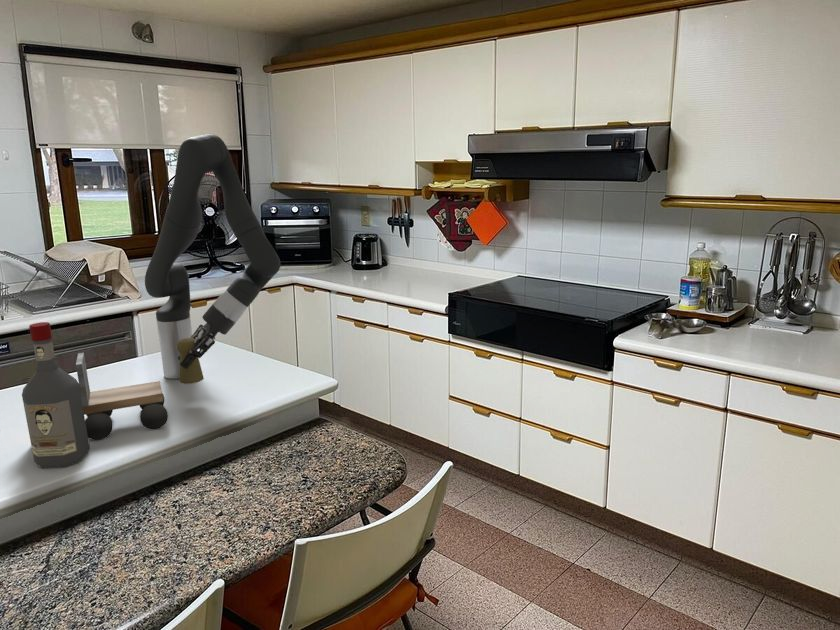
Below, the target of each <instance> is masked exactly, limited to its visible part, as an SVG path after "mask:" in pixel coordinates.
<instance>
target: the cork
mask: <svg viewBox="0 0 840 630" xmlns="http://www.w3.org/2000/svg"><path fill="white" fill-rule="evenodd" d="M195 340H196V339H194V338H185V339H181V340H179V341H178V343H177V350H178V351H179V352H180V362H181V361H182V360H183V359H184V357H185V356H186V355H187V354H188V353H189V351H190V350H191V349H192V347H193V346H194V345H193V342H194V341H195ZM204 379H205V377H204V374H203V370H202V366H201V363H200V358H196V359H195V360H194V361H193V362H192V364H191V365H190V366H189V367H188V368H187V369H185V368H183V367H182V366H181V365H180V373H179V378H178V381H179V383H180V384H184V385H190V384H197V383H199V382H202V381H203V380H204Z"/></svg>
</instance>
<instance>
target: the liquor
mask: <svg viewBox="0 0 840 630" xmlns="http://www.w3.org/2000/svg"><path fill="white" fill-rule="evenodd" d="M28 327H29V333H30V338H31V341H32V345H33V349H34V350H33V351H34V357H35V363H36V365H35V372H34V373H33V375H32V376H31V378H30V379H29V380H28V382H27V383H26V385H25V386H24V387H23V389H22V392H21V398H22V403H23V409H24V414H25V419H26V423H27V424H26V425H27V429H28V435H29V440H30V446H31V451H32V456H33V462H34V463H35V464H36V465H37V466H39V468H41V469H56V468H57V469H58V468H59V469H60V468H67V467H70V466H73V465H76V464H78V463H80V462H81V460H83V459H84V458H85V456H87V454H89V452H90V448H91V447H90V444H89V442H90V441H89V438H88V435H87V429H86V423H85V419H86V418H85V415H84V411H83V405H82V399H81V393H80V387H79V381H78V380H77V378H75V377H74V376H72V375H71V374H69V373H68V372H66V371H65V370H63V369H62V368H61V367H59V364H58V362H57V360H56V356H55V349H54V344H53V334H52V328H51V323H50V322H48V321H47V322H44V321H42V322H36V323H35V322H34V323H31V324H30V325H29V326H28Z"/></svg>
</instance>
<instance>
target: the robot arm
mask: <svg viewBox="0 0 840 630" xmlns="http://www.w3.org/2000/svg"><path fill="white" fill-rule="evenodd" d="M178 149H179V150H178V153H177V157H176V158H177V159H176V164H175V173H174V178H173V184H172V189H171V192H170V196H169V201H168V204H167V207H166V210H165V213H164V216H163V220H162V221H163V222H162V225H161V231H160V233H159V235H158V239H157V243H156V246H155V250H154V251H153V254H152V257H151V259H150V261H149V264H148V266H147V269H146V271H145V275H144V286H145V291H146V293H148V295H149V296H150V297H152V298H155V299H158V298H166V297H167V298H168V300H167V301H166V303H165V304H163V305H162V306H161V307H159V308H158V309H157V310H156V311H155V316H156V318H155V319H156V325H157V332H158V334H157V335H158V341H159V347H160V355H161V364H162V370H163V377H164V378H166V379H171V380H173V379H175V380H176V379H178V380H179V373H180V365H181V366H182V367H183V368H185V369H187V368H188V367H189V366H190V365H191V364H192V362H193V361H194V360H195V359H196V358H199V359H201V358H202V357H203V355H205V353H207V352H208V351H209V350H210V349H211V348H212V347H213V346H214V345H215V342H216V341H215V340H216V336H217V334H218V333H220V334H222V335H227V334H228V333H229V332H230V330H231V329H232V328H233V327H234V326H235V325H236V323H237V322H238V321H239V320H240V318H241V317H242V316H243V315H244V314H245V311H247V309H248V308H249V307H250V305H251V304H252V303H253V302H254V300H255V299H256V298H257V297H258V296H259V293H260V292H261V290H262V289H263V288H264V287H265V286H266V285H267V284H268V283H269V282H270V281H271V280H272V279H273V277H275V275H277V274H278V272H279V271H280V268H281V259H280V257H279V256H278V254H277V251H276V250H275V248H274V247H273V245H272V244H271V243H270V241H269V239H268V238H267V236H266V234H265V231H264V229H263V227H262V225H261V223H260V221H259V219H258V218H257V216H256V215H255V212H254V210H253V209H252V207H251V205H250V203H249V201H248V198H247V196H246V194H245V192H244V189H243V187H242V183H241V181H240V178H239V175H238V172H237V169H236V167H235V165H234V162H233V158H232V156H231V154H230V151H229V149H228V147H227V144H226V143H225V142H224V140H223V139H222V138H221V137H220V136H218V135H216V134H213V133H212V134H211V133H206V134H201V135H196V136H192V137H188V138H186V139H185V140H184V141H183V142H181V144H180V146H179V148H178ZM209 173H213V175H214V176H215V178H216V179H217V181H218V182H219V185H220V187H221V190H222V191H221V192H222V196H223V206H224V214H225V217H226V218H225V219H226V221H227V223H228V225H229V227H230V229H231V230H232V232H233V234H234V236H235V238H236V240H237V242H238V243H239V244H240V246H241V248H243V251H244V253H245V255H246V256H247V258H248V261H249V262H250V263H249V264H248V265H247V266H246V268H245V269H244V271H243V272H242V273H241V274H240V275H239V276H237V277H236V279H234V280H233V281H232V282H231V284H229V286H228V287H227V288H226V290H225V291H224V292H222V293H221V294H220V295H219V296H218V297H217V298H216V300H215V301H214V302H213V303H212V304H211V305H210V306H209V308H208V309H207V310H206V311H205V312H204V314H203V315H202V320H203V321H204V322H205V324H204V325H203V324H200V325H198V327H197V328H196V330H195V331H194V332H193V331H192V322H191V321H192V320H191V313H190V312H191V304H192V303H191V292H190V291H191V289H190V287H191V285H190V279H189V274H188V270H187V269H186V267H185V266H184V265H183V264H182V263H179V262H175V261H177V259H178V258H179V257H180V256H181V255H182V254H183V253H184V252H185V251H186V250H187V249H188V248H189V247H190V246H191V245H192V244H193V242H194V241H195V240H196V238H197V236H198V233H199V230H200V228H201V224H202V219H203V210H202V205H201V203H200V199H199V190H200V187H201V183H202V181H203V178H204V176H205V175H206V174H209ZM185 338H194V339H196V340H195V341H194V342H193V345H194V346H193V347H192V349H191V350H190V351H189V353H188V354H187V355H186V356H185V357H184V359H183V360H182V361H181V362H180V352H179V351H178V350H177V343H178V341H179V340H181V339H185ZM198 350H199V351H198Z"/></svg>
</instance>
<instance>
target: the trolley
mask: <svg viewBox="0 0 840 630" xmlns="http://www.w3.org/2000/svg"><path fill="white" fill-rule="evenodd" d="M75 367H76V368H75V369H76V375H77V379H78V380H77V382H78V383H79V387H80V393H81V399H82V405H83V411H84V416H85V415H86V418H85V423H86V429H87V435H88V440H91V441H101V440H104V439H106V438H108V437H109V436H110V435H111V434H112V432H113V428H114V427H113V425H114V424H113V420H112V418H111V416H112V414H113V412H114V411H115V410H120V409H126V408H132V407H138V406H139V407H140V409H141V410H140V414H139V415H140V416H139V418H140V423H141V425H142V426H143V427H144V428H145V429H147V430H150V431H155V430H160V429H161V428H163V427H164V426H165V425H166V424H167V422H168V420H169V415H168V410H167V408H166V407H165V406H164V404H165V396H164V393H163V390H162V385H161V381H160V380H158V381H152V382H145V383H139V384H133V385H126V386H119V387H115V388H106V389H101V390H94V391H91V389H90V383H89V377H88V371H87V364H86V358H85V353H84V352H78V353H77V357H76V363H75ZM113 410H114V411H113Z"/></svg>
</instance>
